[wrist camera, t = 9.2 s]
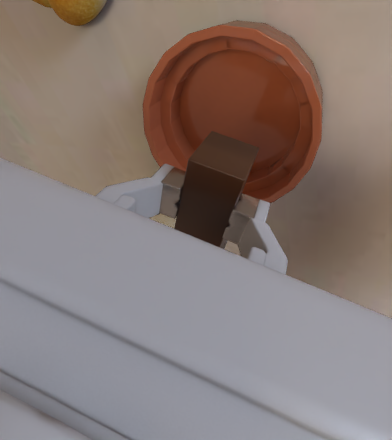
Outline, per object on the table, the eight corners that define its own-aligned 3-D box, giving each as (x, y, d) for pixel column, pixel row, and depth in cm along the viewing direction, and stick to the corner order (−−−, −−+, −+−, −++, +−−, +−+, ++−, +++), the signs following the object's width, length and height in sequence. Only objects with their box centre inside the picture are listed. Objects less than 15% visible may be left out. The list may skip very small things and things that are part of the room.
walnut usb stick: (206, 128, 14) (182, 156, 11) (264, 148, 13) (251, 182, 11) (181, 236, 19) (161, 271, 17) (222, 253, 19) (207, 290, 16)
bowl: (364, 75, 20) (372, 93, 17) (265, 205, 30) (256, 233, 27) (198, -16, 21) (170, -18, 17) (152, 142, 30) (129, 162, 27)
